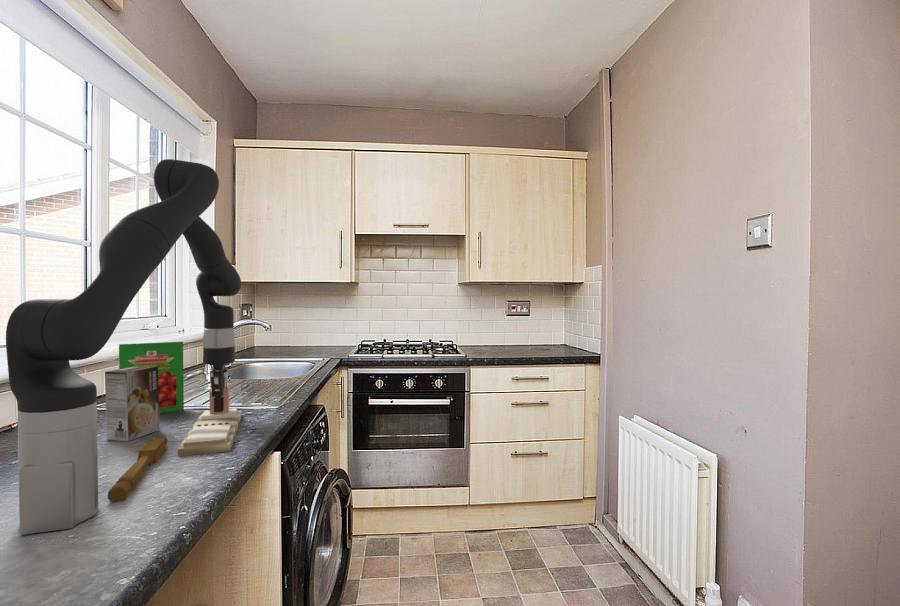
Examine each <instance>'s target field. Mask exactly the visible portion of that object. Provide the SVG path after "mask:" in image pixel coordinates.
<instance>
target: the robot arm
mask: <svg viewBox="0 0 900 606" xmlns="http://www.w3.org/2000/svg"><path fill="white" fill-rule="evenodd" d="M153 185H154V188H155V191H156V194H157V196H158V198H159V200H160V201H159V202H156V203H153V204H149V205H147V206H144V207H142V208H139V209H137V210H135V211H132V212H130V213H128V214H126V215H125V216H124V217H122V218H121V219H120V220H119V221H118V222H117V223H116V224H115V225H114V226H113V227H112V228H111V230H109V232H107V234H106V235H105V236H104V238H103V239H102V241H101V242H100V245H99V250H98V261H99V273H98V274H97V276H96V278H95V279H94V280H93V281H92V282H91V283H90V285H89V286H88V287H87V288H86V289H85V290H83V291H82V292H81V293H80V294H79V295H77V296H75V297H73V298H36V299H35V298H34V299H30V300H27V301H23V302H21V304H19V305H17V306H16V307H15V308H14V309H13V310H12V312H11V314H10V316H9V318H8V320H7V324H6V330H5V349H6V359H7V372H8V383H9V387H10V390H11V392H12V394H13V396H14V398H15V399H16V402H17V403H16V405H17V408H16V409H17V451H18V452H17V459H18V461H17V463H18V466H17V468H18V469H17V471H18V473H17V474H18V511H19V514H18V515H19V535H20V536H23V535H24V536H25V535H31V534H38V533H44V532H45V533H46V532H47V533H48V532H53V531H60V530H68V529H73V528H74V527H75V526H76V525H78V524H80V523H83V522H85V521H87V520H88V519H90V518H92V517H93V516H94V515H96V514H97V513H98V511H99V475H98V474H99V472H98V469H99V466H98V403H97V402H98V392H97V385H96V384H95V383H94V382H93V381H92V380H89V379H86V377H85V378H84V377H82V376H81V375H79V374H78V373H77V372H76V371H74V370H73V368H72V367H71V365H70V361H82V360H86V359H89V358H92V357H93V356H95V355H96V354H98V353H99V352H100V351H101V350H102V349H103V348H104V347H105V345H106V344H107V343H108V341H109V340H110V338H111V337H112V335H113V333H114V331H115V330H116V329H117V326H118V325H119V323H120V322H121V320H122V318H123V317H124V314H125V313H126V312H127V309H128V308H129V305H130V304H131V303H132V301H133V300H134V298H135V296H136V295H137V294H138V293H139V291H140V290H141V288H142V287H143V286H144V284H145V282H146V281H147V280H148V278H149V277H150V276H151V274H153V272H154V271H155V270H156V269H157V268H158V266H160V264H161V263H162V261H164V259H165V257H166V256H167V255H168V254H169V252H170V251H171V250H172V248H173V246H174V245H175V244H176V242H177V241H178V240H179V239H180V237H182V235H183V237H184V239H185V241H186V243H187V245H188V247H189V249H190V251H191V256H192V257H193V260H194V263H195V266H196V268H197V269H198V270H199V272H198V274H197V276H196V278H195V285H196V289H197V293H198V295H199V299H200V301H201V306H202V309H203V334H202V335H203V336H202V337H203V338H202V343H203V344H202V346H203V347H202V348H203V349H202V350H203V351H202V352H203V353H202V355H203V356H202V357H203V361H202V363H203V364H204V365H208V366H209V365H212V369H211V370H210V372H209V374H210V375H209V376H210V388H211V389H212V397H213V398H214V412H222V411H223V410H224V388H228V384H229V382H228V376H229V369H228V368H226V365H229V364H233V363H235V360H236V349H235V348H236V335H235V328H234V327H235V325H234V323H235V321H234V320H235V319H234V316H235V315H234V309H233V307H232V306H230V305H226V304H225V305H224V304H221V303H218V302H217V301H216V300H215V298H214V297H233V296H235V295H238V293H240V290H241V288H242V280H241V276H240V275H239V272H238V271H237V269H235V266H233V264H232V263H231V262H230V261H229V259H228V258H227V256H226V252H225V249H224V247H223V244H222V241H221V239H220V238H219V237H220V236H219V235H218V234H217V233H216V232H215V230H214V229H213V228H212V227H211V226H210V225H209V224H208V223H207V222H206V221H204V220H203V218H201V217H200V216H201V215H202V214H203V213H205V212H206V210H207V209H208V208H210V206H211V205H212V203H213V202H214V201H215V199H216V197H217V194H218V192H219V186H220V179H219V176H218V174H217V172H216V171H215V170H214V168H212V167H211V166H209V165H206V164H203V163H200V162H199V163H198V162H194V161H193V162H192V161H187V160H186V161H185V160H181V159H174V158H173V159H172V158H171V159H169V158H168V159H167V158H166V159H162V160H160V161H159V162H158V163H157V164H156V166H155V168H154V171H153ZM217 389H220V392H216V390H217Z"/></svg>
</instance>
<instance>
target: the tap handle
mask: <svg viewBox="0 0 900 606" xmlns="http://www.w3.org/2000/svg"><path fill="white" fill-rule="evenodd" d="M168 441H169V440H168V438H167V436H165V435H157V436H156V437H154V438H149V439H148V440H147V441H146V442H145V443H143V445H142V446H141V448H140V449H139V450H138V453H137V454H138V455H137V459H136V462H135V463H134V464H132V465H131V467H129V469H128V470H126V471H125V472H124V473H123V475H122V476H120V477H119V478H118V480H117V481H116V482H115V484H114V485H112V487H110V489H109V491H108V492H107V499H108V500H109V502H111V503H119V502H120V501H121V502H124V501H125V500H126V499H127V498H128V497H129V495H130V494H131V493H132V491H133V490H134V489H135V487H136V485H137V483H138V482H139V481H140V479H141V478H142V476H143V475H144V473H145V471H146V470H147V468H149V467H150V466H151V465H153V464H157V463H158V461H160V459H161V458H162V456H163V455H164V453H165V452H166V450H167V449H166V448H167V444H168Z"/></svg>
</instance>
